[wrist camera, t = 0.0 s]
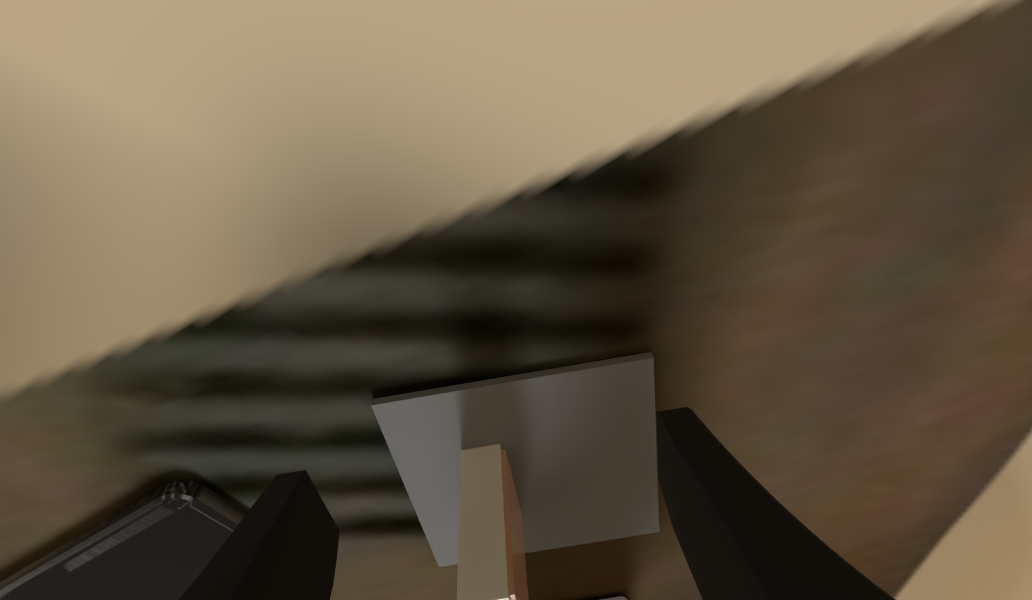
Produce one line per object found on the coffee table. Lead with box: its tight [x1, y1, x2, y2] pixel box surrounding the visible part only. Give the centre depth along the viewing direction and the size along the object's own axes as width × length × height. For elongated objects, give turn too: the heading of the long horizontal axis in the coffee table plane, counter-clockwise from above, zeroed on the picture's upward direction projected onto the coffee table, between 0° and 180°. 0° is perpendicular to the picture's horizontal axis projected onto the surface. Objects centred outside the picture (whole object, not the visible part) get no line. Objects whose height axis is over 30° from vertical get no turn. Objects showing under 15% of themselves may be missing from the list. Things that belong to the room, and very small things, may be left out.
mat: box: [371, 352, 659, 567], centre depth 26 cm, size 12×12×1 cm
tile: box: [457, 444, 529, 600], centre depth 23 cm, size 5×2×7 cm, turn 9°
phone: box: [0, 480, 247, 600], centre depth 28 cm, size 8×1×15 cm
